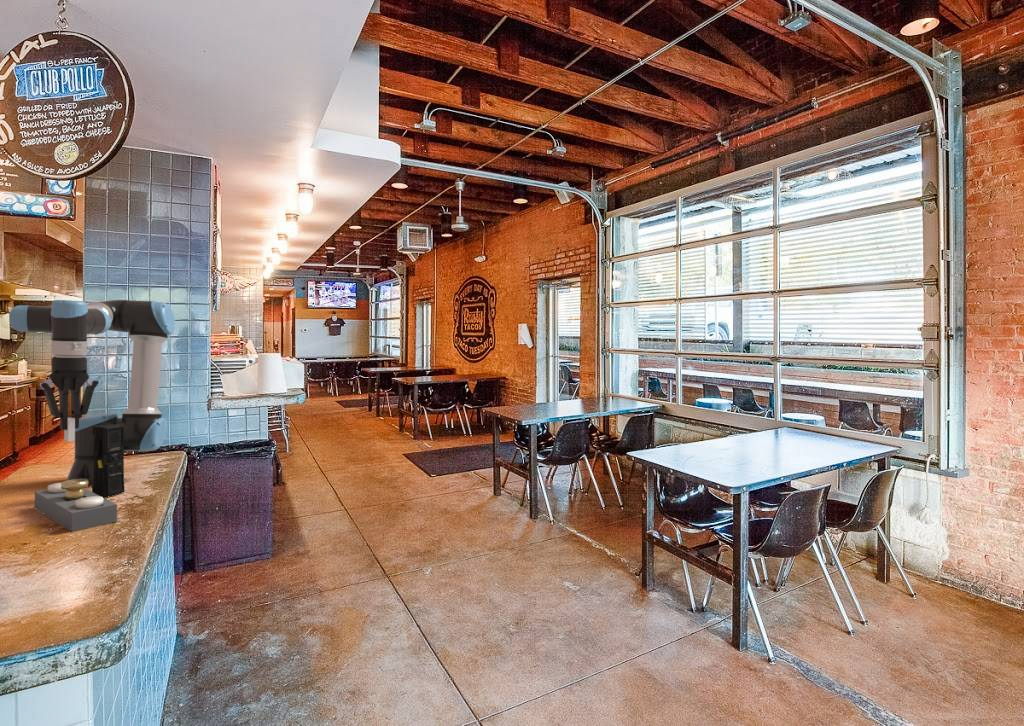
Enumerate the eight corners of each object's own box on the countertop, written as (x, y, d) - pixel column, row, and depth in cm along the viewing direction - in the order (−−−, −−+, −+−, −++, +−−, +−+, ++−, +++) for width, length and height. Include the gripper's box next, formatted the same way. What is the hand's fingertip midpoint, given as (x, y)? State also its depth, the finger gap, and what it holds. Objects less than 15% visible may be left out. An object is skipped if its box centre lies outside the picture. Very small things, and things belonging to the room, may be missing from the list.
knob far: (98, 516, 149) (98, 495, 149) (106, 521, 145) (107, 499, 145) (71, 522, 144) (72, 499, 144) (79, 527, 140) (80, 504, 140)
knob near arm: (69, 501, 161) (70, 481, 161) (77, 505, 158) (77, 484, 157) (44, 505, 156) (44, 484, 156) (51, 509, 153) (51, 488, 152)
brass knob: (83, 498, 155) (83, 477, 155) (91, 502, 151) (91, 481, 151) (57, 503, 150) (57, 481, 150) (65, 507, 146) (65, 485, 146)
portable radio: (103, 499, 165) (104, 420, 165) (87, 497, 167) (88, 419, 166) (126, 492, 173) (127, 417, 172) (111, 490, 174) (112, 416, 173)
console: (76, 500, 163) (76, 484, 163) (116, 522, 147) (117, 504, 146) (34, 508, 155) (34, 491, 155) (71, 531, 138) (72, 513, 138)
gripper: (44, 357, 137) (44, 446, 139) (103, 356, 148) (103, 439, 150) (33, 355, 141) (34, 442, 143) (92, 355, 152) (92, 435, 154)
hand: (69, 440), depth 146 cm, fingers closed
